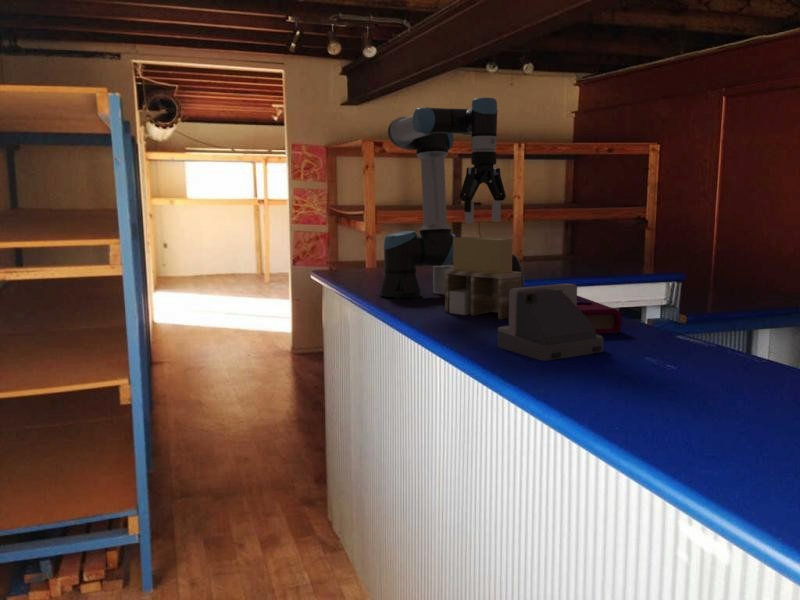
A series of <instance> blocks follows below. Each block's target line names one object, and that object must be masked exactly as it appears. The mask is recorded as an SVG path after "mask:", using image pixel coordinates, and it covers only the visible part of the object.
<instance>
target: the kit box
mask: <svg viewBox="0 0 800 600" xmlns="http://www.w3.org/2000/svg"><path fill="white" fill-rule="evenodd" d="M512 254H513V239H512V238H499V237H498V238H496V237H495V238H493V237H476V236H475V237H474V236H473V237H472V236H461V237H460V236H459V237H457V238H453V262H452V263H453V264H452V265H453V270H462V271H473V272H485V273H496V274H503V273H510V272H512Z"/></svg>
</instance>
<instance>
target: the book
mask: <svg viewBox="0 0 800 600" xmlns="http://www.w3.org/2000/svg"><path fill="white" fill-rule="evenodd" d="M577 307H578V309H579V310H580V311H581V312H582V313H583V314H584V315H585V316H586V317H587V318H588V319H589V321H590V322H591V323H592V324H593V326H594V328H595V332H596V334H597V335H600V334H599V333H618V334H619V333H620V331H621V330H622V326H623V325H622V323H623V318H622V317H623V316H622V313H621V311H620V310H618V309H616V308H613V307H611V306H607V305H606V304H602V303H599V302H597V301H593V300H591V299H589V298H585V297H582V296H579V295H577Z"/></svg>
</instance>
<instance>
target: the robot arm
mask: <svg viewBox="0 0 800 600" xmlns="http://www.w3.org/2000/svg"><path fill="white" fill-rule="evenodd" d="M498 112H499V110H498V101H497V99H496V98H493V97H477V98H473V99H472V101H471V106H470V108H445V107H443V108H441V107H440V108H439V107H428V106H427V107H426V106H425V107H417V108H416V109H415V110H414V112H413V114H412V115H411V116H400V117H397V118H395V119H394V120H392V121H391V122H390V123H389V125H388V128H387V135H388V136H387V137H388V139H389V141H390V143H392V144H393V145H394V146H396V147H397V148H400V149H403V150H408V151H416V157H417V158H418V159H419V160H420V168H421V169H420V170H421V171H420V172H421V197H422V201H421V202H422V218H423V219H422V221H423V224H422V226H421V227H420V229H419V234H417V231H415V230H407V231H398V232H393V233H389V234H387V235H386V236H385V237H384V239H383V240H384V243H383V250H384V251H383V252H384V253H383V254H384V256H383V259H384V262H383V263H384V264H383V265H384V266H383V267H384V276H383V279H382V283H381V287H380V289H379V296H380V295H382V296H386V297H396V298H395V299H413V298H414V299H415V298H418V297H421V296H422V289H421V287H420V283H419V279H418V277H417V267H433V266H442V265H452V263H453V238H458V237H457V236H456V234H454V233H452V229H451V227H450V226H449V225H448V224H447V200H446V174H445V171H446V170H445V159H446V157H447V156H449V151H451V149H452V148H453V145H454V134H455V135H456V134H458V135H464V136H468V135H469V136H470V137H471V138H470V139H471V141H470V142H471V143H470V146H471V147H470V150H471V151H472V153H471V154H470V156H471V157H470V163H471V165H473V167H471V166H470V167H469V166H468V167H467V168H466V171H465V173H466V174H465V178H464V180H463V184H462V186H461V191H460V193H459V199H460V200H461V201H462V202H464V210H463V211H464V224H475V223H474V222H475V221H474V217H475V216H474V215H475V213H474V212H475V211H474V210H475V201H474V200H473V199H474V197H475V195H476V193H477V191H478V189H479V187H480V185H481V184H485V185H486V186H487V188H488V189H489V192H490V194H491V196H492V198H493V200H491V202H492V203H491V222H495V223H498V222H499V223H500V222H501V215H502V214H501V211H502V201H505V198H506V197H507V196H506V195H507V194H506V191H505V187H504V184H503V180H502V176H501V168H500V167H494V165H496V164H497V152H495V151H497V136H498V135H497V134H498V127H497V126H498Z"/></svg>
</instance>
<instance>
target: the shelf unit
mask: <svg viewBox="0 0 800 600" xmlns="http://www.w3.org/2000/svg"><path fill="white" fill-rule="evenodd" d="M522 272H523V271H522ZM522 272H515V271H512V272H510V273H503V274H496V273H485V272H473V271H462V270H453V269H449V270H445V294H444V312H447V313H449V296H450V291H453V290H459V289H465V288H466V289H471V314H470V316H473V317H474V316H478V315H483V314H487V313H497V320H506V319H509V292H510V289H512V288H520V287H521V279H522Z"/></svg>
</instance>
